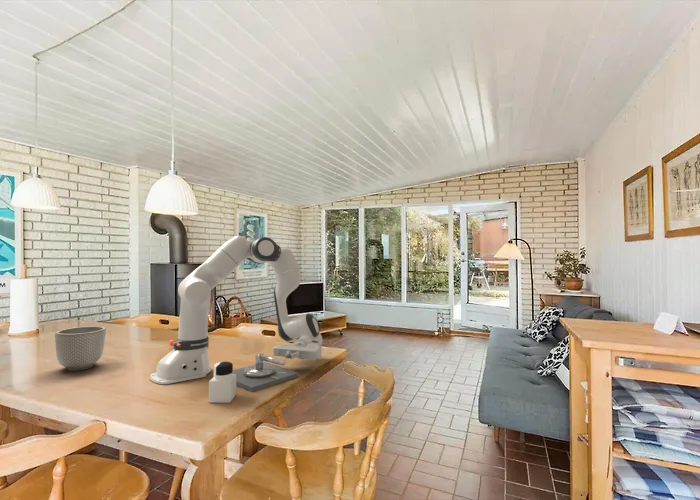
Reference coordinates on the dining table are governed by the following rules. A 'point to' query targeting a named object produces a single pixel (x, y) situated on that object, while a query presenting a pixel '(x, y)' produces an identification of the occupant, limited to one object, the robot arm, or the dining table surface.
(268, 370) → the capstan dial
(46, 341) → the dining table surface
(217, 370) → the medicine bottle
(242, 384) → the base plate
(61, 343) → the planter
